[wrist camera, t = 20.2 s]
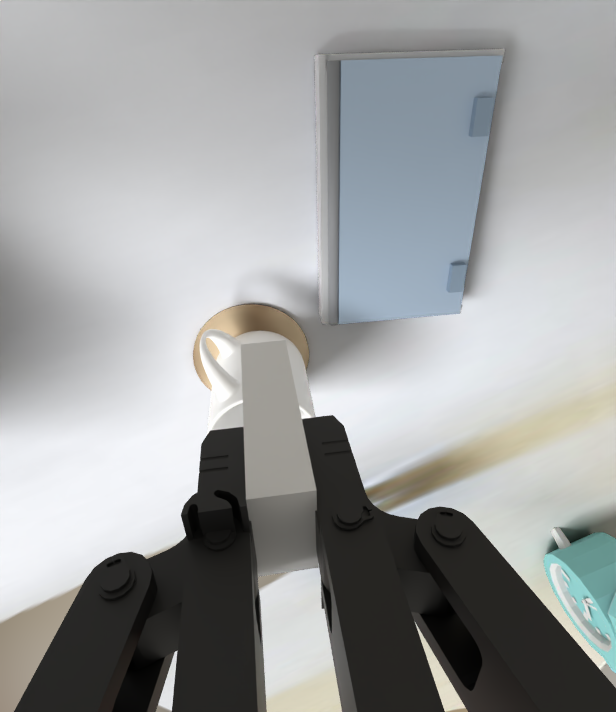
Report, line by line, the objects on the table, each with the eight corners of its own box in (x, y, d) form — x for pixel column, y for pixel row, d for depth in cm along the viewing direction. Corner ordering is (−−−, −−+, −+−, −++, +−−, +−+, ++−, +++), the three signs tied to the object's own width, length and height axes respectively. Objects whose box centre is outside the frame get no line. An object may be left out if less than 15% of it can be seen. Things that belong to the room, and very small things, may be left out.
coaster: (203, 406, 46) (202, 409, 45) (184, 309, 40) (183, 310, 40) (309, 396, 47) (310, 398, 46) (306, 299, 41) (307, 301, 41)
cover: (327, 320, 40) (330, 328, 38) (325, 61, 30) (329, 60, 28) (455, 309, 41) (462, 316, 40) (496, 56, 31) (507, 55, 30)
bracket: (319, 313, 42) (322, 324, 40) (314, 55, 31) (318, 54, 29) (451, 302, 43) (460, 313, 41) (490, 50, 32) (505, 48, 31)
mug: (245, 281, 39) (245, 342, 30) (320, 372, 45) (339, 446, 36) (170, 334, 41) (148, 407, 32) (251, 415, 47) (253, 496, 38)
